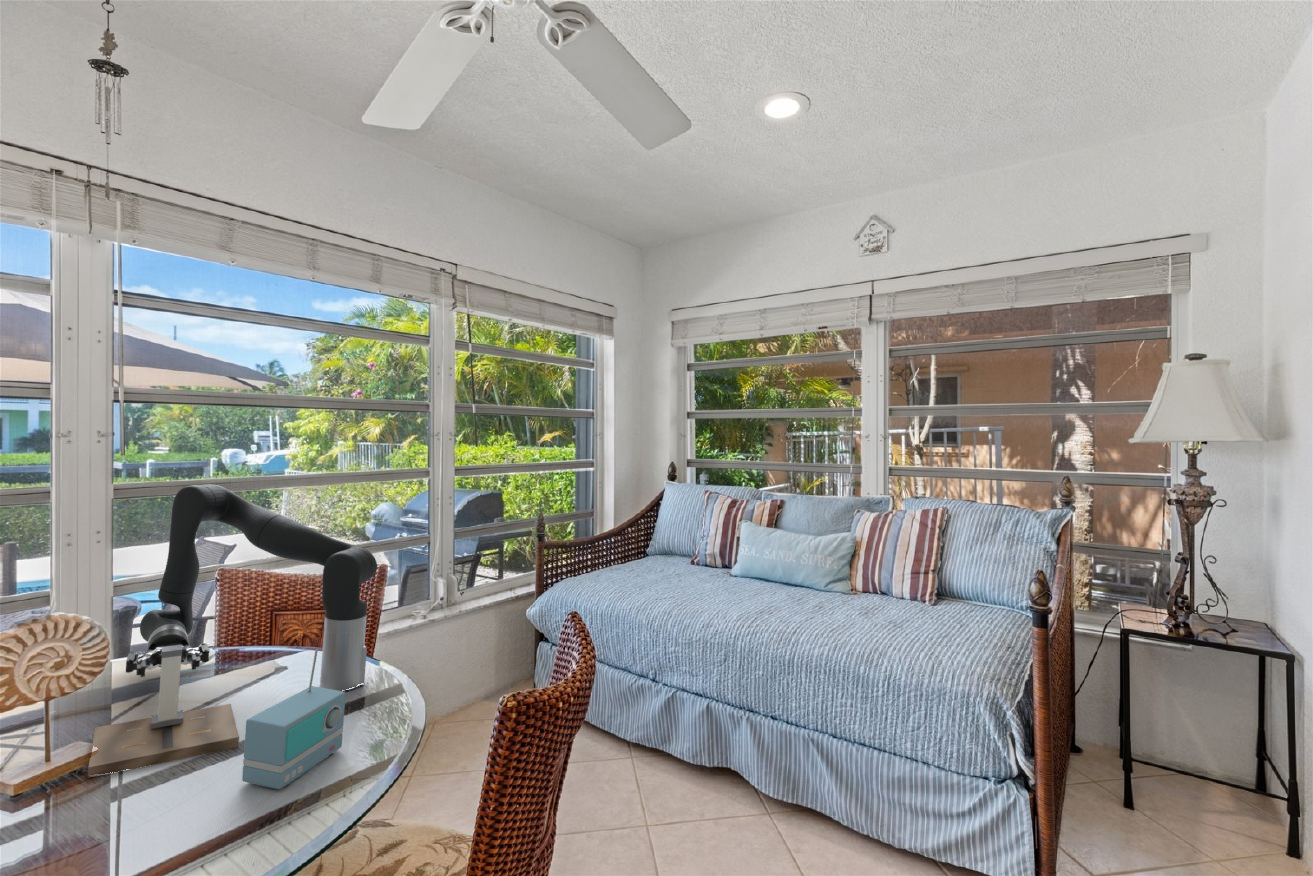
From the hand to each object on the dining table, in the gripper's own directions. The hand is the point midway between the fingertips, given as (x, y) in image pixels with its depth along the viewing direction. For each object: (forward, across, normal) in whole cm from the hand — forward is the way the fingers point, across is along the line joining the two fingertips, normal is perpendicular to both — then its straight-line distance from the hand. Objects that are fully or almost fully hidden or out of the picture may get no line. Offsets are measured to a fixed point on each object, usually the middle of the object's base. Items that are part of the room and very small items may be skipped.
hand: (169, 668), depth 133 cm
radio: (+34, +19, +11) cm, 40 cm away
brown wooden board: (+12, 0, +10) cm, 16 cm away
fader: (+8, 0, +8) cm, 11 cm away
